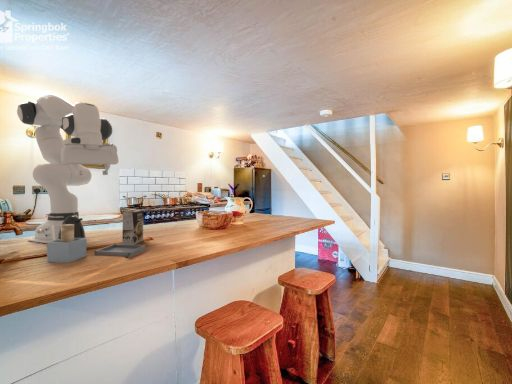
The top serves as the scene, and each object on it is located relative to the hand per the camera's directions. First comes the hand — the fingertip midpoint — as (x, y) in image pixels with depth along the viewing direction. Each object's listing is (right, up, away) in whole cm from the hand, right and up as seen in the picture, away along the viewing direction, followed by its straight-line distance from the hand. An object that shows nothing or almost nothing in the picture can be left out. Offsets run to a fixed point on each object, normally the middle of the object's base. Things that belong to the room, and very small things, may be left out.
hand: (93, 175), depth 102 cm
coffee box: (+6, -33, +21) cm, 40 cm away
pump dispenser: (-13, -33, +6) cm, 36 cm away
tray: (+10, -34, +3) cm, 35 cm away
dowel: (-4, -33, -9) cm, 34 cm away
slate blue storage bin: (-4, -34, -9) cm, 35 cm away
